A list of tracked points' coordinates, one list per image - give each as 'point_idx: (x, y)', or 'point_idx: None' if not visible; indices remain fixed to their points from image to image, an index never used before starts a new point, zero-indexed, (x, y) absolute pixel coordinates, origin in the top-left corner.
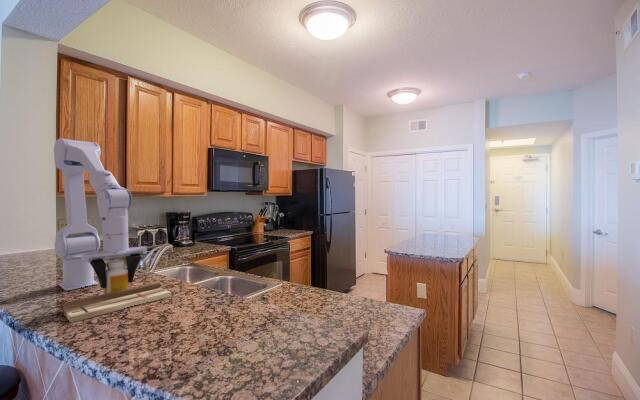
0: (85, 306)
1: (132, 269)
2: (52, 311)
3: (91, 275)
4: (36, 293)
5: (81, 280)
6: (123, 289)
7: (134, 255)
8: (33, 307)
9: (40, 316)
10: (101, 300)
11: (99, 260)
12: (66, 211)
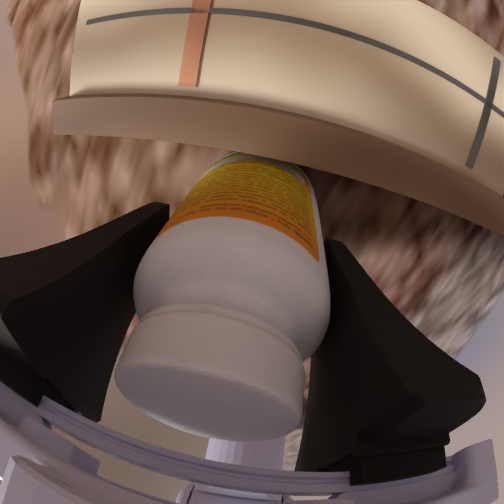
0: (461, 149)
1: (100, 243)
2: (461, 273)
3: None
4: None
5: None
6: (238, 163)
7: (6, 363)
8: None
9: (495, 257)
10: (392, 142)
11: (395, 462)
12: None
